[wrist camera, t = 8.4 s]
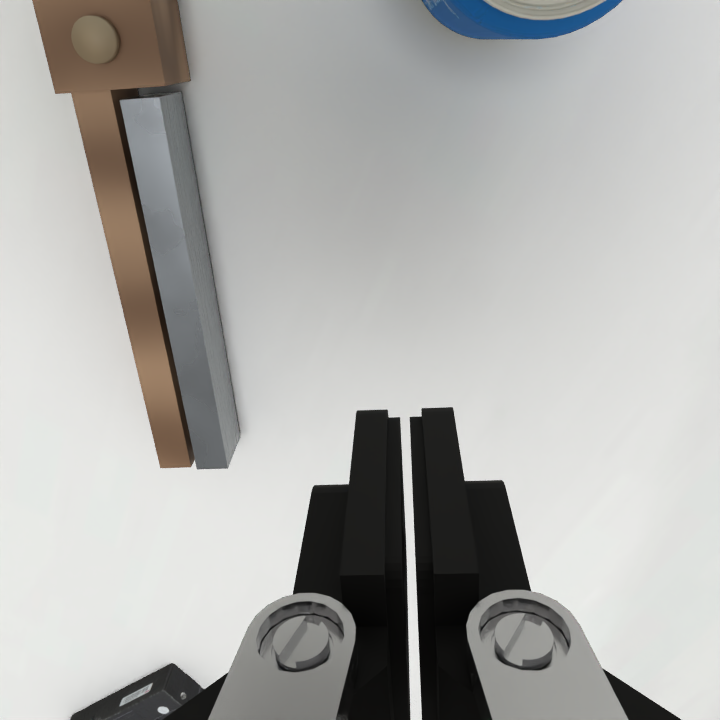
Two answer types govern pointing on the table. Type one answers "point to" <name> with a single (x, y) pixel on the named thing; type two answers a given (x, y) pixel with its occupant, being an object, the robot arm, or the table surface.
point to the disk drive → (145, 698)
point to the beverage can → (517, 16)
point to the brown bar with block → (124, 169)
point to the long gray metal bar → (183, 271)
